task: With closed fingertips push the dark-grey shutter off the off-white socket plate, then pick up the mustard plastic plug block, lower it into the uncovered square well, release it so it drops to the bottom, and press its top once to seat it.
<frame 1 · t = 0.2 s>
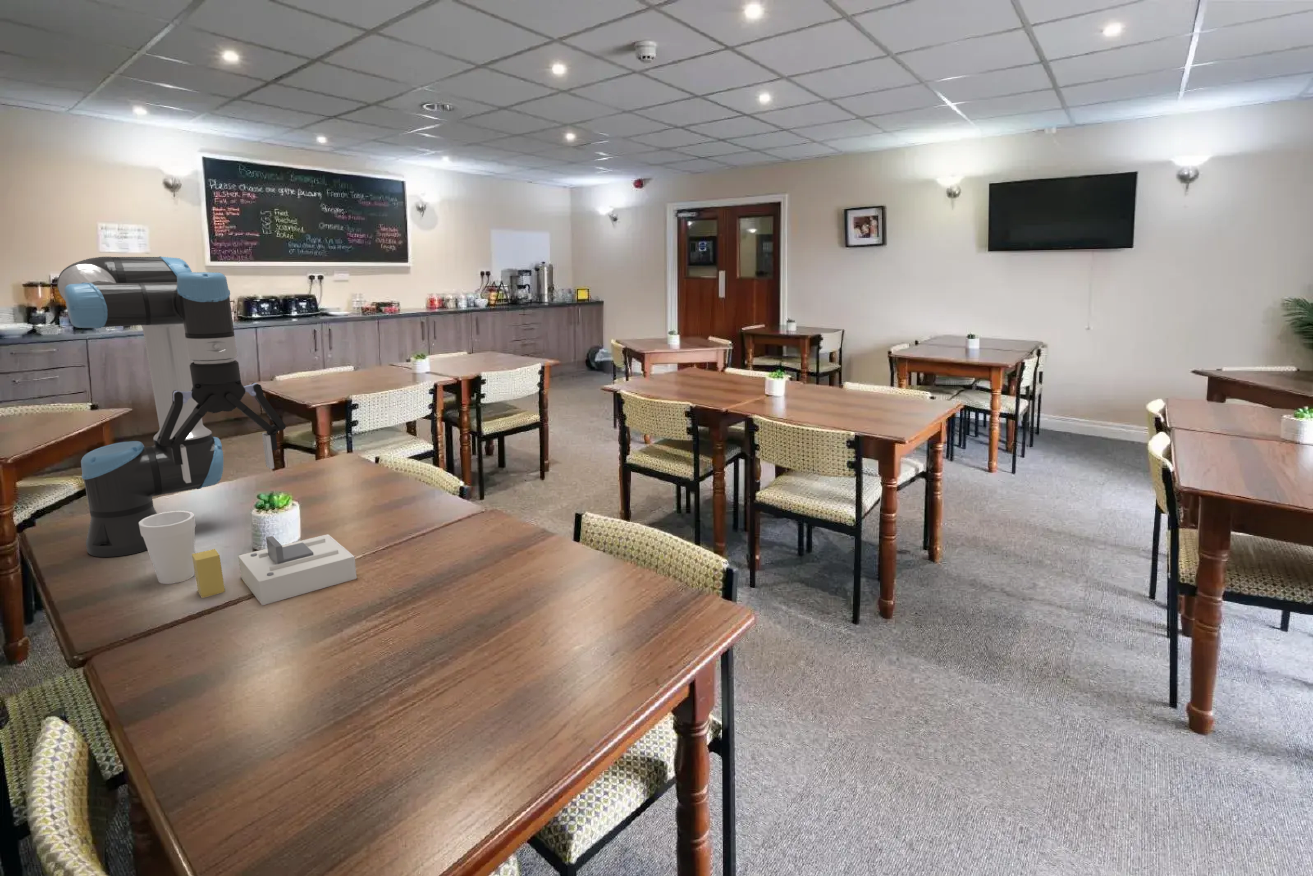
hand: (230, 474, 132), 26 cm above the table, fingers open, 13 cm apart
shutter: (289, 547, 146), point 7 cm above the table, slide at 0.0 cm
socket: (293, 579, 148), on the table
foam cup: (176, 578, 148), on the table
plug: (211, 591, 142), on the table
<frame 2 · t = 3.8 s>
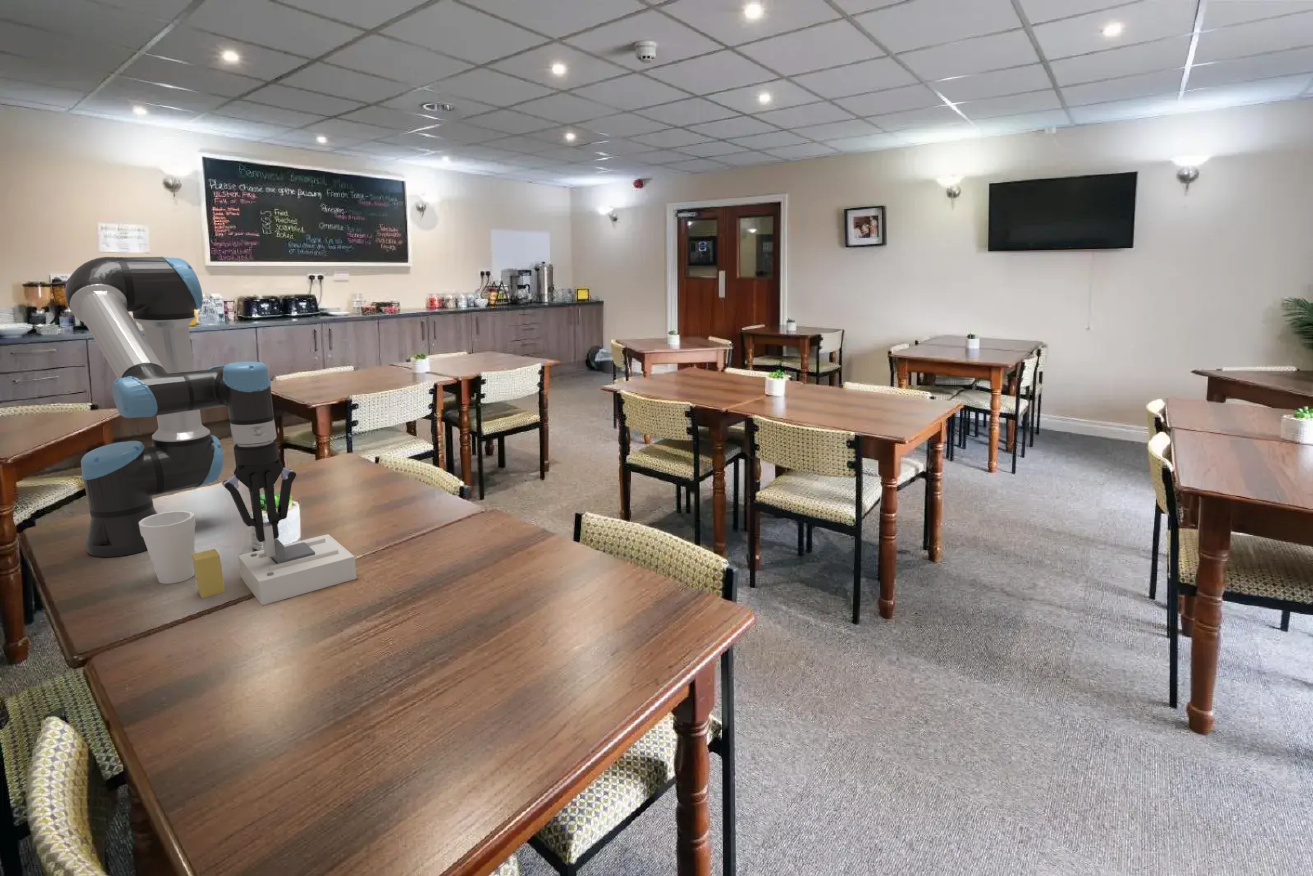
hand: (270, 554, 143), 7 cm above the table, fingers closed
shutter: (291, 546, 146), point 7 cm above the table, slide at 0.3 cm, touching gripper
everything else where it was.
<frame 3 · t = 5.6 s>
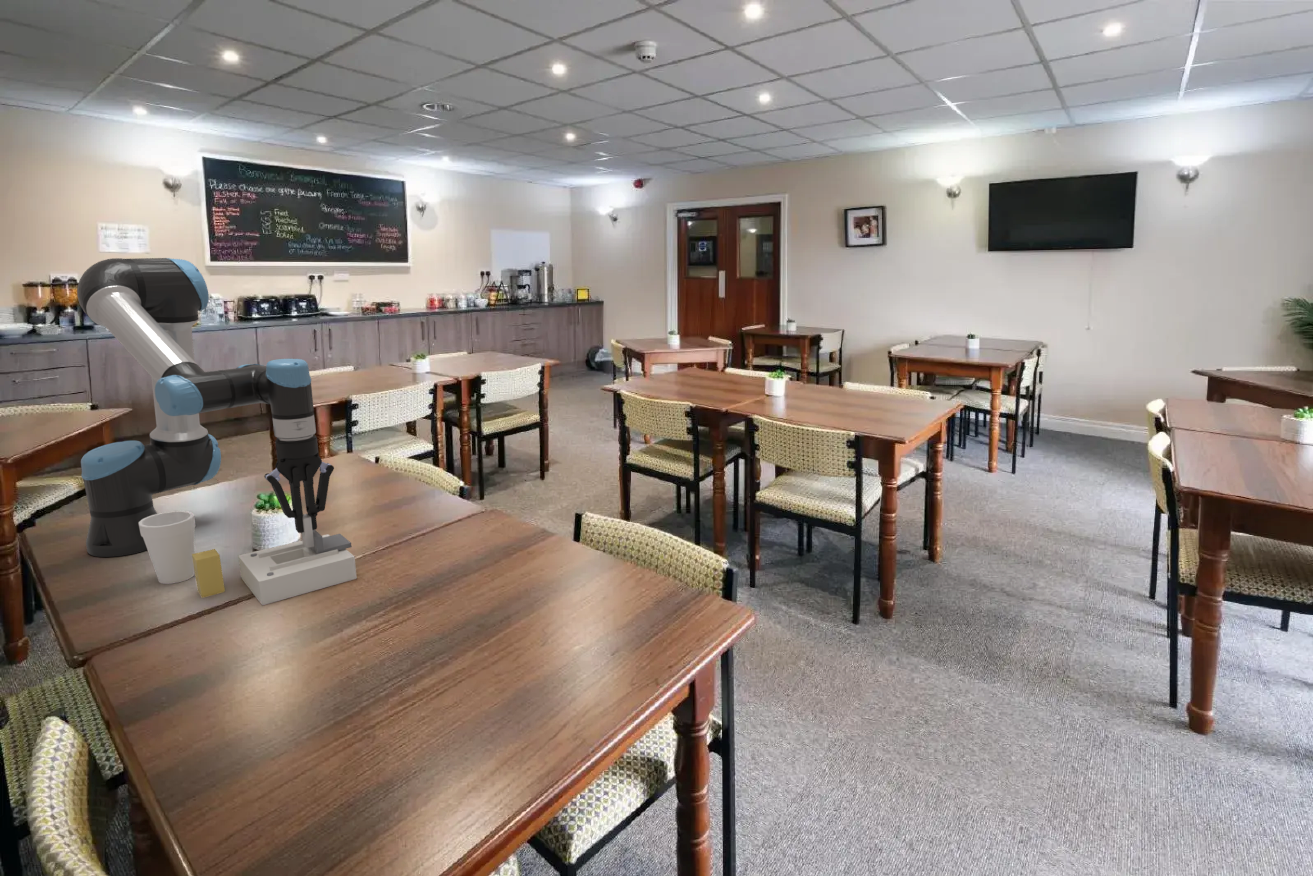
hand: (308, 545, 148), 7 cm above the table, fingers closed
shutter: (328, 537, 151), point 7 cm above the table, slide at 7.7 cm, touching gripper
everything else where it was.
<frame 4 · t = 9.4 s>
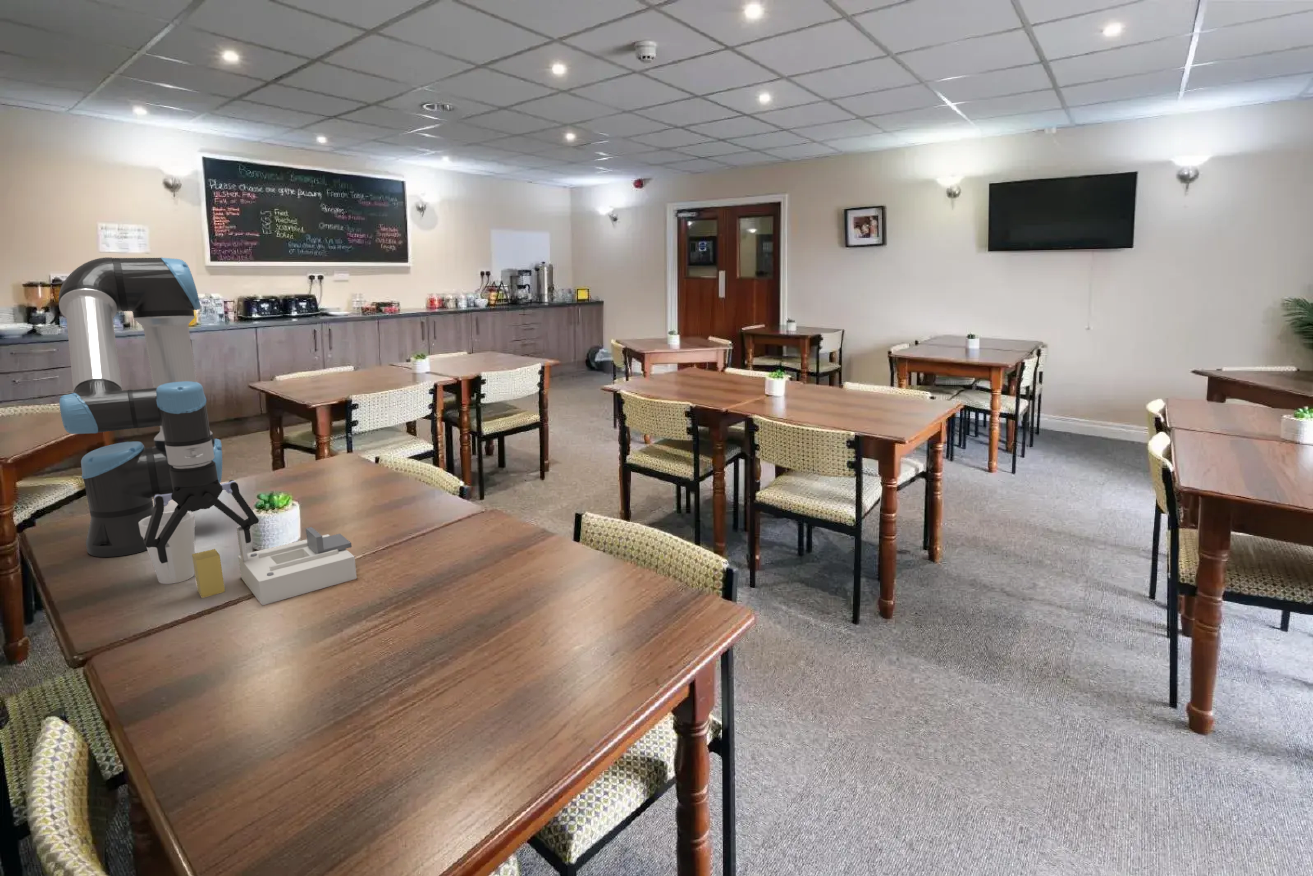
hand: (209, 567, 141), 5 cm above the table, fingers open, 12 cm apart
shutter: (328, 537, 151), point 7 cm above the table, slide at 7.7 cm
everything else where it was.
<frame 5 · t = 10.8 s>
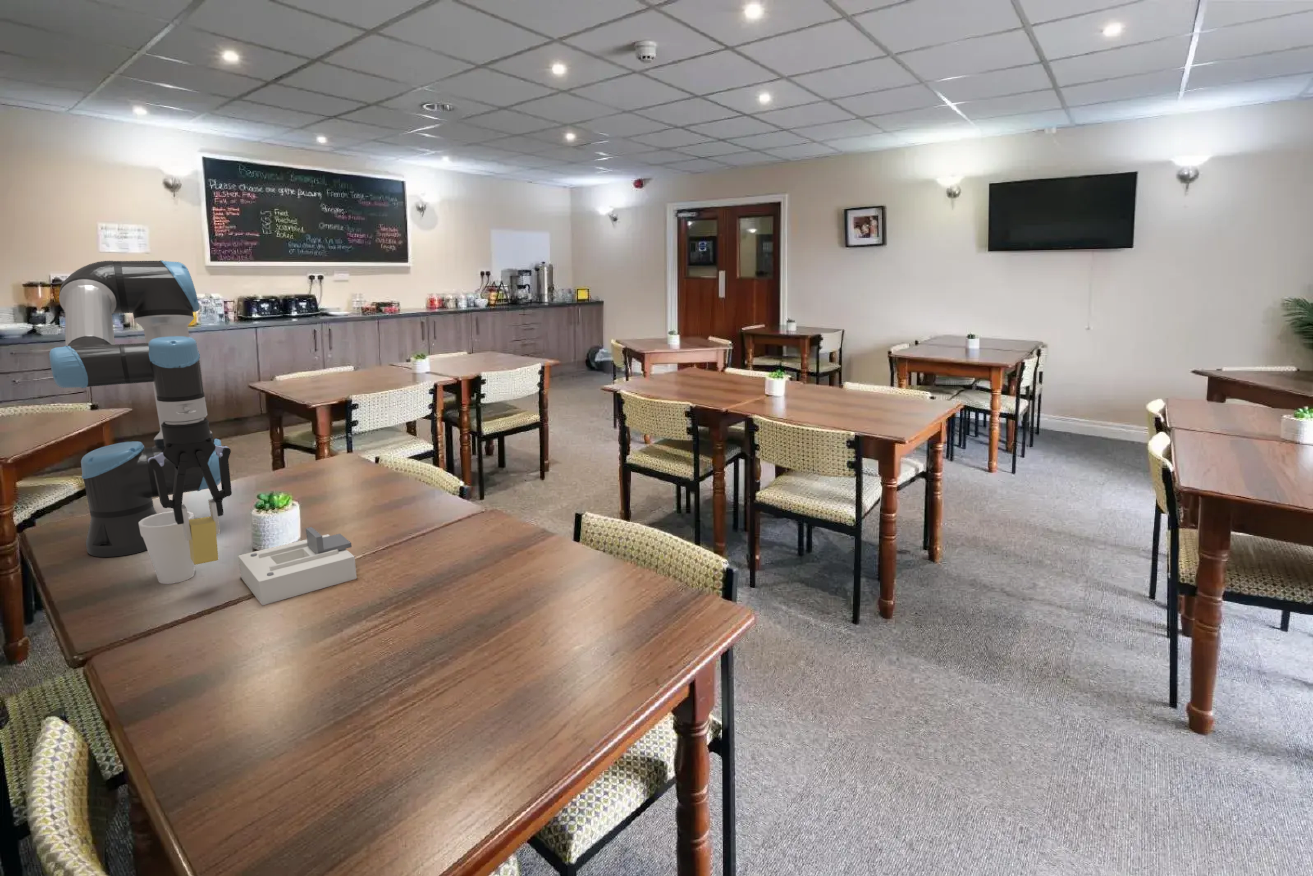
hand: (202, 534, 139), 12 cm above the table, fingers closed on plug, 4 cm apart
plug: (204, 559, 140), point 7 cm above the table, touching gripper
everything else where it was.
when the fingers open (7 cm above the table, at t = 13.5 s): plug drops 1 cm, resting on socket.
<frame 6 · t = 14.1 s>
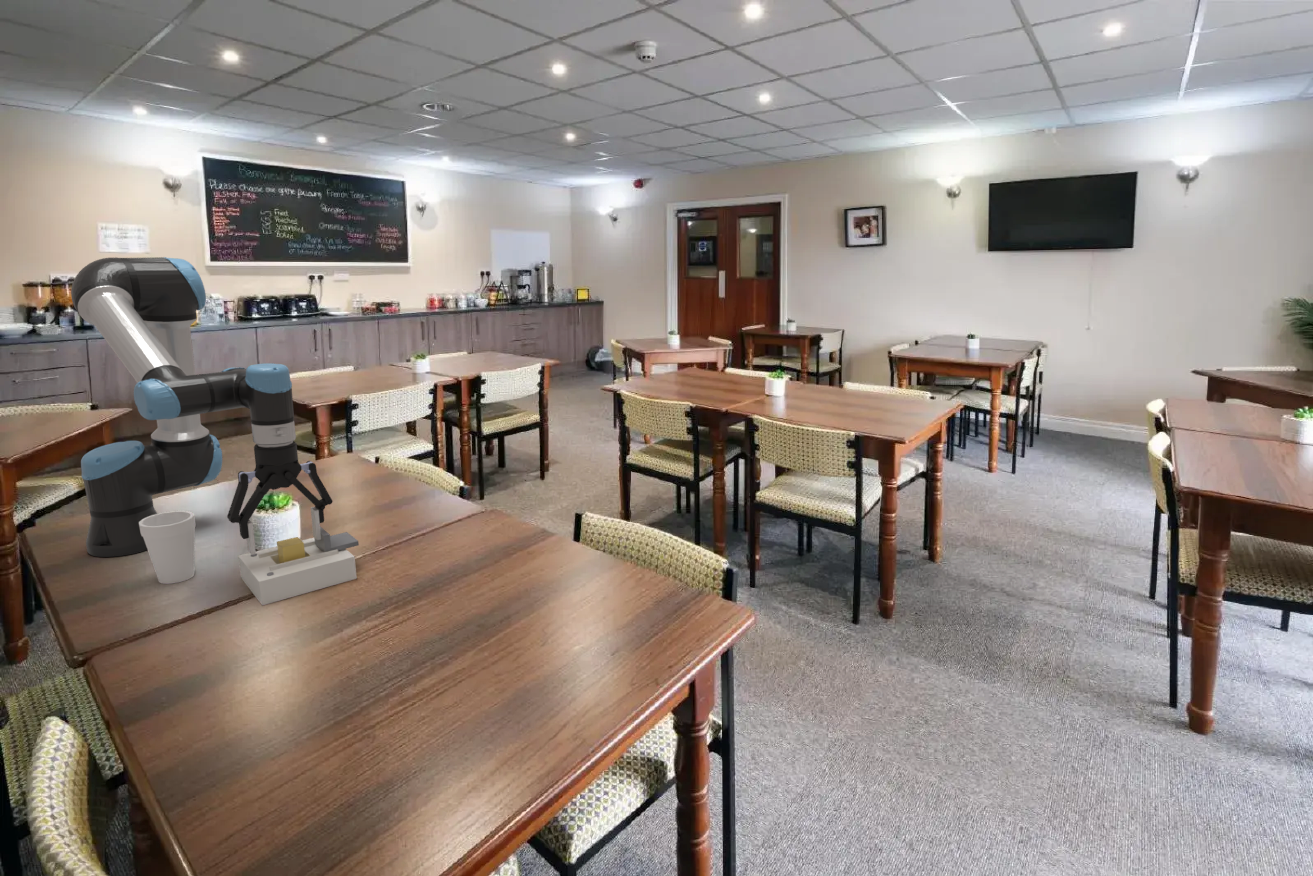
hand: (285, 545, 145), 8 cm above the table, fingers open, 12 cm apart
shutter: (335, 536, 152), point 7 cm above the table, slide at 9.2 cm, touching gripper
plug: (294, 577, 147), resting on socket
everything else where it was.
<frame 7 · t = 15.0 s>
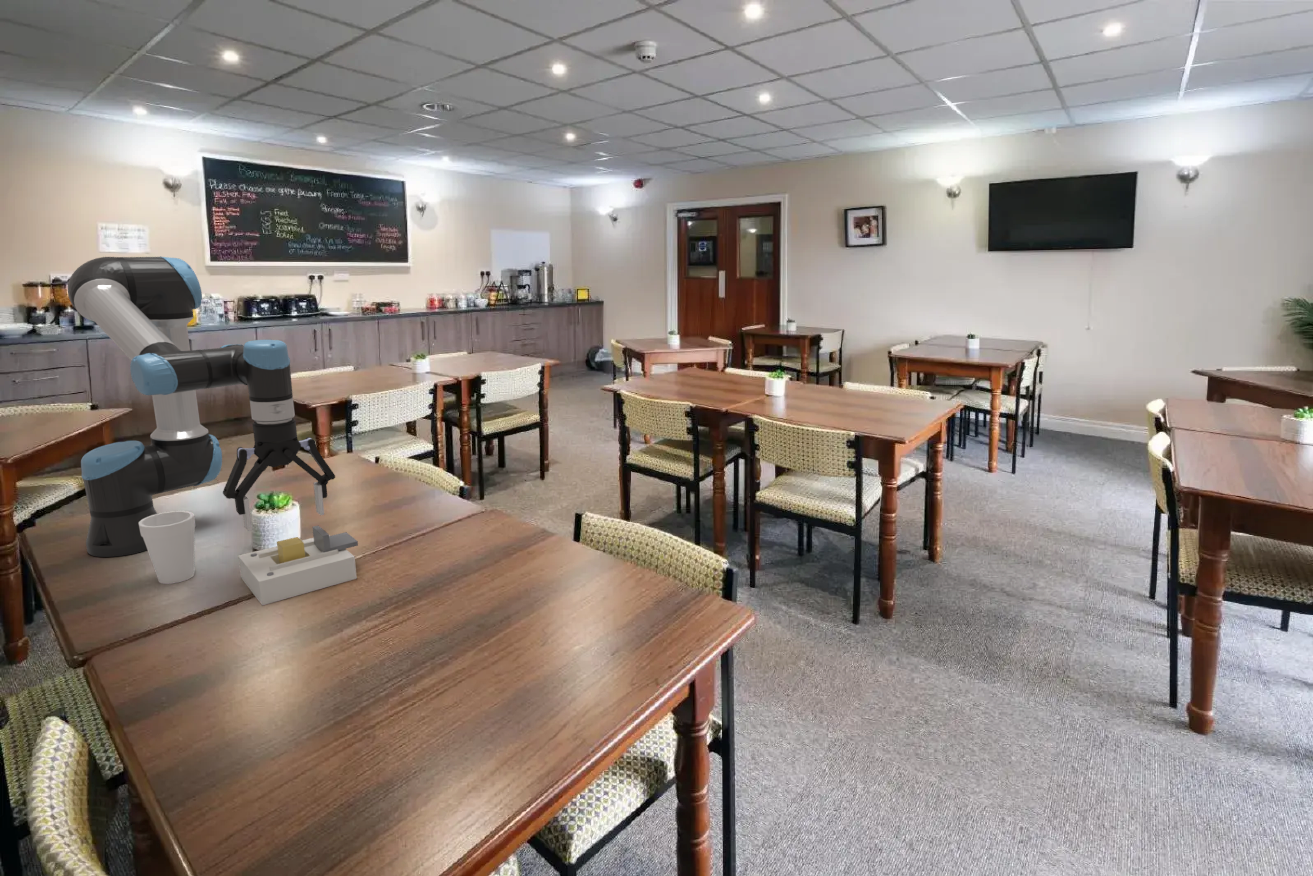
hand: (285, 520, 144), 13 cm above the table, fingers open, 13 cm apart
shutter: (335, 536, 152), point 7 cm above the table, slide at 9.0 cm
everything else where it was.
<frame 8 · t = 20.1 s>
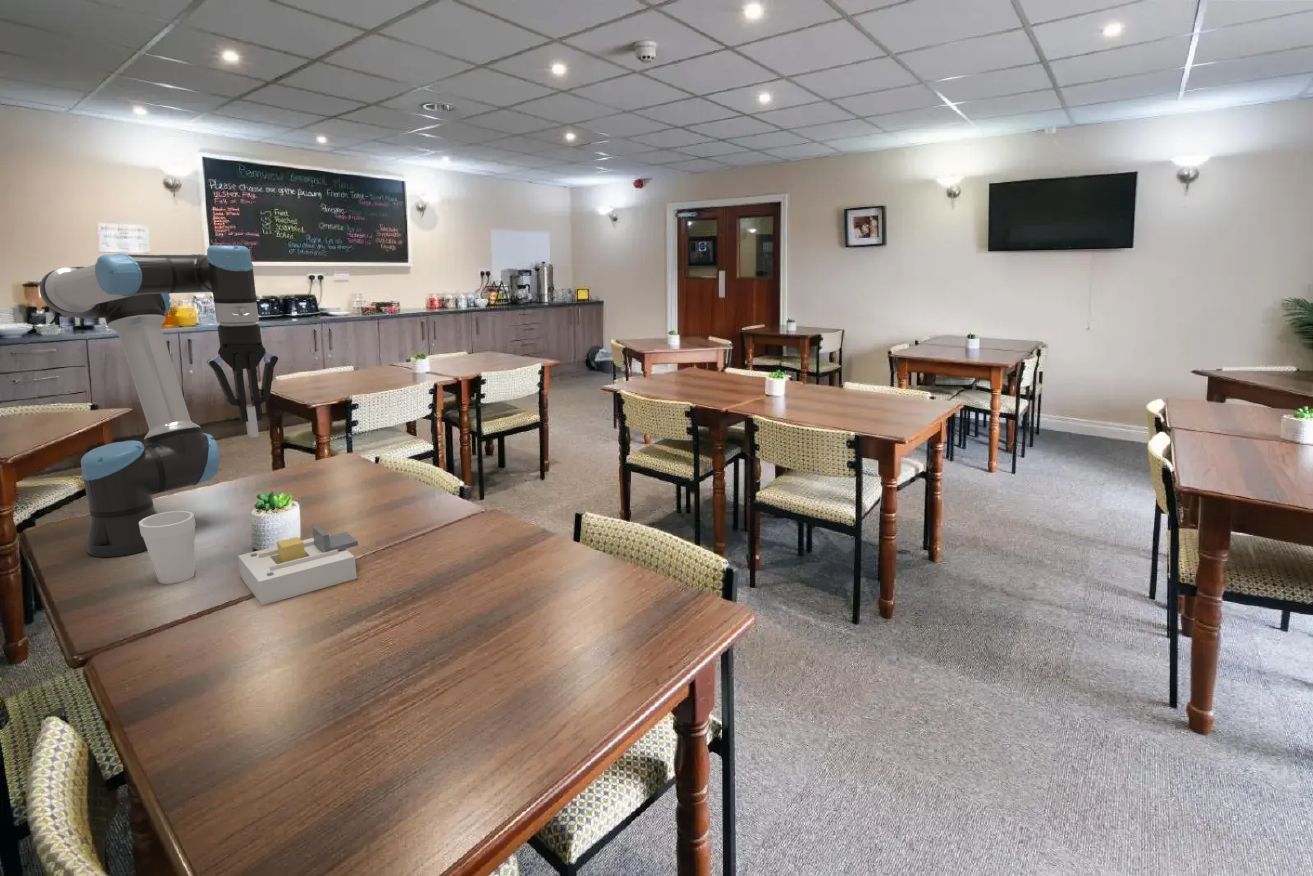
hand: (253, 435, 150), 28 cm above the table, fingers closed
nothing on the table moved.
at the end: plug 0.4 cm off-centre on the socket, point 0.5 cm above the socket's base; shutter slide at 9.0 cm; the gripper is holding nothing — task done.
